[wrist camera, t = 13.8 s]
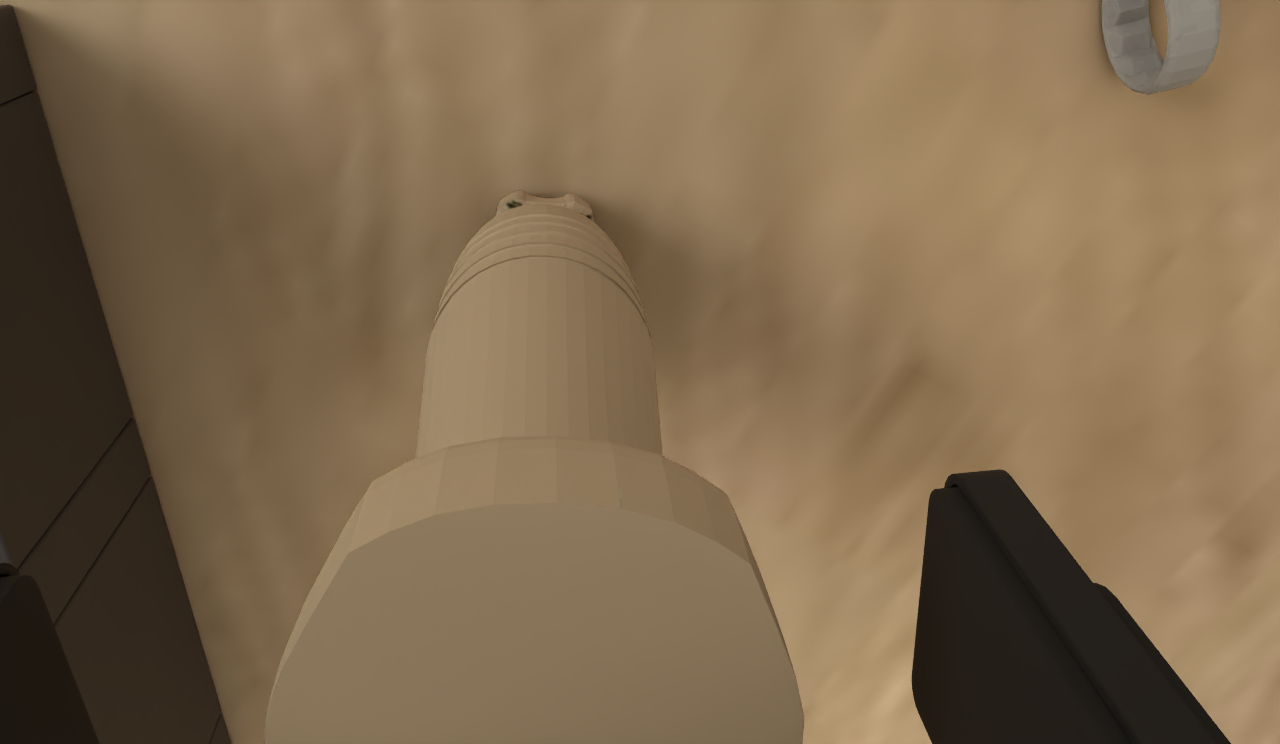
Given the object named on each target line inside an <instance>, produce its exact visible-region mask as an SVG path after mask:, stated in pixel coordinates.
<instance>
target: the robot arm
mask: <svg viewBox="0 0 1280 744" xmlns="http://www.w3.org/2000/svg"><path fill="white" fill-rule="evenodd" d="M912 690H913V696H914V700H915V704H916V708H917V710H918V713H919V715H920V717H921V720H922V722H923V724H924V726H925V728H926V731H927V733H928V735H929V737H930V740H931V742H932V744H1231V743H1230V742H1229V740H1228V739H1227V738H1226V737H1225V735H1224V734H1223V733H1222V731H1221V730H1220V729H1219V728H1218V726H1217V725H1216V724H1215V723H1214V721H1213V720H1212V719H1211V717H1210V716H1209V715H1208V714H1207V712H1206V711H1205V710H1204V709H1203V707H1202V706H1201V705H1200V703H1199V702H1198V701H1197V700H1196V698H1195V697H1194V696H1193V695H1192V693H1191V692H1190V691H1189V689H1188V688H1187V687H1186V686H1185V684H1184V683H1183V682H1182V681H1181V679H1180V678H1179V677H1178V675H1177V674H1176V673H1175V672H1174V670H1173V669H1172V668H1171V666H1170V665H1169V664H1168V663H1167V661H1166V660H1165V659H1164V658H1163V656H1162V655H1161V654H1160V652H1159V651H1158V650H1157V649H1156V647H1155V646H1154V645H1153V644H1152V642H1151V641H1150V640H1149V638H1148V637H1147V636H1146V635H1145V633H1144V632H1143V631H1142V630H1141V628H1140V627H1139V626H1138V624H1137V623H1136V622H1135V621H1134V619H1133V618H1132V617H1131V615H1130V614H1129V613H1128V612H1127V610H1126V609H1125V608H1124V607H1123V605H1122V604H1121V603H1120V601H1119V600H1118V599H1117V598H1116V596H1114V595H1113V594H1112V593H1111V592H1110V591H1109V590H1108V589H1107V588H1106V587H1105V586H1102V585H1100V584H1097V583H1093V582H1092V581H1091V580H1090V578H1089V577H1088V576H1087V575H1086V573H1085V572H1084V571H1083V569H1082V568H1081V567H1080V565H1079V564H1078V563H1077V562H1076V560H1075V559H1074V558H1073V556H1072V555H1071V554H1070V552H1069V551H1068V550H1067V549H1066V547H1065V546H1064V545H1063V543H1062V542H1061V541H1060V539H1059V538H1058V537H1057V536H1056V534H1055V533H1054V532H1053V530H1052V529H1051V528H1050V526H1049V525H1048V524H1047V522H1046V521H1045V520H1044V519H1043V517H1042V516H1041V515H1040V513H1039V512H1038V511H1037V509H1036V508H1035V507H1034V506H1033V504H1032V503H1031V502H1030V500H1029V499H1028V498H1027V496H1026V495H1025V494H1024V493H1023V491H1022V490H1021V489H1020V487H1019V486H1018V485H1017V483H1016V482H1015V481H1014V480H1013V478H1012V477H1011V476H1010V475H1009V474H1008V473H1007V472H1006V471H1004V470H990V471H979V472H968V473H958V474H951V475H950V476H948V478H947V480H946V482H945V487H944V488H941V489H934V490H933V491H932V492H931V495H930V498H929V505H928V516H927V526H926V536H925V546H924V556H923V567H922V577H921V587H920V597H919V608H918V618H917V628H916V638H915V648H914V659H913V669H912ZM0 744H100V743H99V740H98V737H97V735H96V732H95V730H94V727H93V725H92V722H91V719H90V717H89V714H88V712H87V709H86V707H85V704H84V701H83V699H82V696H81V694H80V691H79V689H78V686H77V683H76V681H75V678H74V676H73V673H72V671H71V668H70V665H69V663H68V660H67V658H66V655H65V653H64V650H63V647H62V645H61V642H60V640H59V637H58V635H57V632H56V629H55V627H54V624H53V622H52V619H51V617H50V614H49V611H48V609H47V606H46V604H45V601H44V599H43V596H42V593H41V591H40V588H39V586H38V584H37V582H36V580H35V579H33V578H32V577H31V576H28V575H20V573H19V572H18V570H17V569H16V568H15V567H14V566H13V565H12V564H8V563H0Z"/></svg>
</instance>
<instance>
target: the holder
mask: <svg viewBox="0 0 1280 744" xmlns="http://www.w3.org/2000/svg"><path fill="white" fill-rule="evenodd" d="M35 89H36V84H35V81H34V77H33V74H32V71H31V67H30V64H29V60H28V57H27V54H26V50H25V47H24V44H23V40H22V37H21V33H20V30H19V27H18V23H17V20H16V17H15V13H14V10H13V7H12V6H10V5H2V6H0V563H8V564H12V565H13V566H14V567H15V568H16V569H17V570H18V572H19V573H20V575H28V576H31V577H32V578H33V579H35V580H36V582H37V584H38V586H39V588H40V591H41V593H42V596H43V599H44V601H45V604H46V606H47V609H48V611H49V614H50V617H51V619H52V622H53V624H54V627H55V629H56V632H57V635H58V637H59V640H60V642H61V645H62V647H63V650H64V653H65V655H66V658H67V660H68V663H69V665H70V668H71V671H72V673H73V676H74V678H75V681H76V683H77V686H78V689H79V691H80V694H81V696H82V699H83V701H84V704H85V707H86V709H87V712H88V714H89V717H90V719H91V722H92V725H93V727H94V730H95V732H96V735H97V737H98V740H99V743H100V744H230V741H229V737H228V734H227V730H226V727H225V724H224V720H223V717H222V714H221V713H220V712H221V709H220V706H219V702H218V699H217V695H216V692H215V689H214V685H213V682H212V679H211V675H210V672H209V669H208V665H207V662H206V658H205V655H204V652H203V648H202V645H201V642H200V638H199V635H198V631H197V628H196V625H195V621H194V618H193V615H192V611H191V608H190V604H189V601H188V598H187V594H186V591H185V588H184V584H183V581H182V577H181V574H180V571H179V567H178V564H177V561H176V557H175V554H174V551H173V547H172V544H171V540H170V537H169V534H168V530H167V527H166V524H165V520H164V517H163V513H162V510H161V507H160V503H159V500H158V497H157V493H156V490H155V486H154V483H153V480H152V477H150V471H149V468H148V464H147V461H146V457H145V454H144V451H143V447H142V444H141V441H140V437H139V434H138V430H137V427H136V424H135V420H134V419H133V418H131V417H132V411H131V407H130V404H129V401H128V397H127V394H126V391H125V387H124V384H123V380H122V377H121V374H120V370H119V367H118V364H117V360H116V357H115V353H114V350H113V347H112V343H111V340H110V337H109V333H108V330H107V327H106V323H105V320H104V316H103V313H102V310H101V306H100V303H99V300H98V296H97V293H96V289H95V286H94V283H93V279H92V276H91V273H90V269H89V266H88V263H87V259H86V256H85V252H84V249H83V246H82V242H81V239H80V236H79V232H78V229H77V225H76V222H75V219H74V215H73V212H72V209H71V205H70V202H69V199H68V195H67V192H66V188H65V185H64V182H63V178H62V175H61V172H60V168H59V165H58V161H57V158H56V155H55V151H54V148H53V145H52V141H51V138H50V135H49V131H48V128H47V124H46V121H45V118H44V114H43V111H42V108H41V104H40V101H39V97H38V94H37V93H36V92H35V91H33V90H35Z"/></svg>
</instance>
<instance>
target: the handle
mask: <svg viewBox="0 0 1280 744" xmlns="http://www.w3.org/2000/svg"><path fill="white" fill-rule="evenodd" d="M593 217H594V215H593V213H592V210H591V208H590V205H589V204H588V203H587V202H585V201H584V200H582V199H581V198H579V197H577V196H575V195H573V194H566V195H565V196H563V197H558V198H540V197H535V196H532V195H529V194H527V193H526V192H525V191H523V190H519V191H516V192H513V193H511V194H509V195H507V196H505V197H503V198H502V199H501V201H500V203H499V205H498V207H497V212H496V215H495V217H494V218H493V219H492V220H490V221H489V222H487V223H486V224H485V225H484V226H483V227H482V228H481V229H480V230H479V231H478V232H477V233H476V234H475V235H474V237H473V238H472V239H471V240H470V241H469V243H468V244H467V245H466V247H465V248H464V250H463V251H462V253H461V255H460V256H459V258H458V260H457V262H456V264H455V266H454V268H453V270H452V273H451V275H450V277H449V279H448V282H447V284H446V287H445V289H444V292H443V294H442V296H441V300H440V303H439V307H438V310H437V314H436V318H435V321H434V325H433V329H432V333H431V336H430V340H429V344H428V347H427V354H426V364H425V374H424V383H423V393H422V403H421V413H420V422H419V432H418V442H417V451H416V459H414V460H411V461H409V462H407V463H405V464H403V465H401V466H399V467H397V468H396V469H394V470H392V471H390V472H388V473H386V474H384V475H382V476H381V477H379V478H377V479H375V480H374V481H373V482H372V483H371V484H370V486H369V487H368V489H367V491H366V492H365V494H364V496H363V497H362V499H361V500H360V502H359V504H358V505H357V507H356V509H355V510H354V512H353V513H352V515H351V517H350V519H349V520H348V522H347V524H346V526H345V527H344V529H343V531H342V533H341V534H340V536H339V538H338V540H337V542H336V543H335V545H334V547H333V549H332V551H331V552H330V554H329V556H328V558H327V560H326V562H325V564H324V566H323V568H322V570H321V571H320V573H319V575H318V577H317V579H316V581H315V583H314V585H313V587H312V589H311V590H310V592H309V594H308V596H307V598H306V600H305V603H304V605H303V607H302V610H301V612H300V614H299V617H298V619H297V621H296V624H295V626H294V628H293V631H292V633H291V635H290V638H289V641H288V643H287V646H286V648H285V651H284V654H283V656H282V659H281V661H280V665H279V668H278V672H277V675H276V679H275V682H274V686H273V689H272V693H271V696H270V700H269V704H268V707H267V711H266V721H265V738H264V744H802V742H803V729H804V714H803V709H802V704H801V699H800V695H799V690H798V685H797V680H796V676H795V673H794V670H793V667H792V663H791V660H790V657H789V654H788V650H787V647H786V644H785V641H784V638H783V635H782V632H781V629H780V626H779V623H778V621H777V618H776V615H775V612H774V609H773V607H772V604H771V601H770V598H769V595H768V593H767V590H766V587H765V584H764V582H763V579H762V576H761V573H760V571H759V568H758V566H757V563H756V561H755V558H754V556H753V553H752V551H751V548H750V546H749V543H748V541H747V538H746V536H745V534H744V531H743V529H742V527H741V524H740V522H739V520H738V518H737V515H736V513H735V511H734V508H733V506H732V504H731V502H730V500H729V498H728V496H727V495H726V494H725V493H724V492H723V491H722V490H720V489H719V488H717V487H716V486H714V485H713V484H711V483H710V482H709V481H707V480H706V479H704V478H703V477H701V476H700V475H698V474H697V473H695V472H694V471H692V470H690V469H688V468H685V467H683V466H681V465H679V464H677V463H675V462H673V461H671V460H669V459H667V458H665V457H663V456H662V444H661V432H660V420H659V408H658V396H657V384H656V372H655V360H654V353H653V346H652V342H651V337H650V333H649V329H648V325H647V321H646V317H645V313H644V310H643V306H642V303H641V300H640V297H639V294H638V291H637V288H636V286H635V283H634V280H633V278H632V275H631V273H630V271H629V269H628V267H627V265H626V263H625V261H624V259H623V257H622V255H621V254H620V252H619V250H618V248H617V247H616V246H615V244H614V243H613V242H612V240H611V239H610V238H609V237H608V235H607V234H606V233H605V232H604V231H603V230H602V229H601V228H600V227H599V226H598V225H597V224H595V222H594V219H593Z"/></svg>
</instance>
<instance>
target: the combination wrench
mask: <svg viewBox="0 0 1280 744" xmlns="http://www.w3.org/2000/svg"><path fill="white" fill-rule="evenodd" d="M1164 4H1165V9H1166V15H1167V29H1168V40H1167V49H1166V56H1165V59H1164V61H1163V59H1162V57H1161V55H1160V53H1159V51H1158V49H1157V47H1156V44H1155V41H1154V38H1153V35H1152V30H1151V25H1150V19H1149V0H1102V11H1101V14H1102V30H1103V35H1104V41H1105V46H1106V49H1107V52H1108V56H1109V59H1110V61H1111V63H1112V65H1113V67H1114V70H1115V72H1116V73H1117V75H1118V76H1119V77H1120V79H1121V80H1122V81H1123V83H1124V84H1125V85H1126V86H1127V87H1129V88H1130V89H1131V90H1133V91H1135V92H1139V93H1143V94H1147V95H1150V94H1154V93H1158V92H1162V91H1166V90H1171V89H1175V88H1179V87H1183V86H1186V85H1190V84H1192V83H1193V82H1195V81H1196V80H1197V79H1198V78H1199V77H1200V76H1202V75H1203V74H1204V73H1205V72H1206V70H1207V69H1208V67H1209V65H1210V64H1211V62H1212V61H1213V58H1214V55H1215V52H1216V49H1217V46H1218V40H1219V33H1220V26H1221V18H1220V1H1219V0H1164Z"/></svg>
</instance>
